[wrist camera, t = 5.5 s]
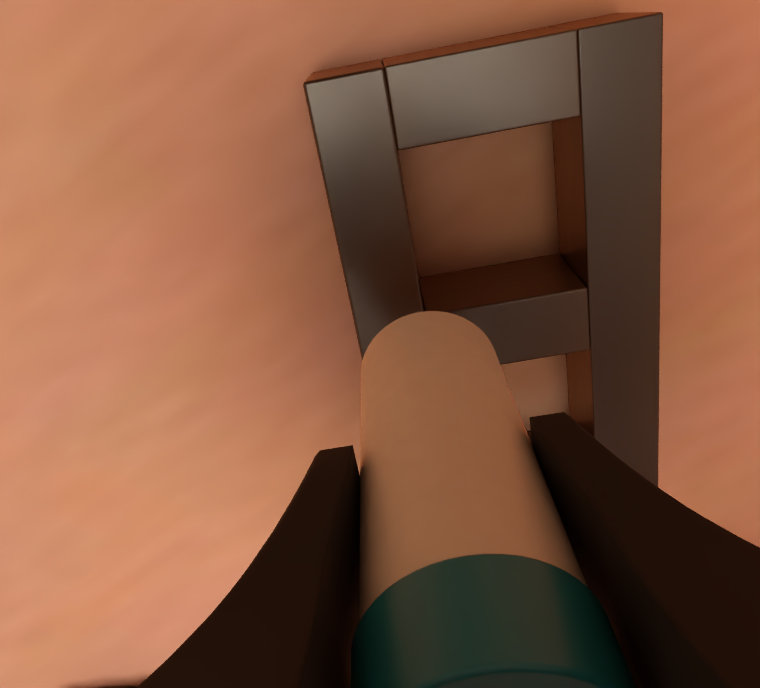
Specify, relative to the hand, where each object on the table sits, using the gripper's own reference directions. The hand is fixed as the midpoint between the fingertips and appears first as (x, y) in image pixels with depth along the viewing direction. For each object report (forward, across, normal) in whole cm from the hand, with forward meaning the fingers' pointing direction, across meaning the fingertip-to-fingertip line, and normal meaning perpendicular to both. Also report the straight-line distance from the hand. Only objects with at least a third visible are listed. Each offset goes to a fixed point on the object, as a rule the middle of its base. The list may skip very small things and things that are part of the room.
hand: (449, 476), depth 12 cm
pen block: (+10, -2, +1) cm, 11 cm away
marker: (+4, 0, 0) cm, 4 cm away
